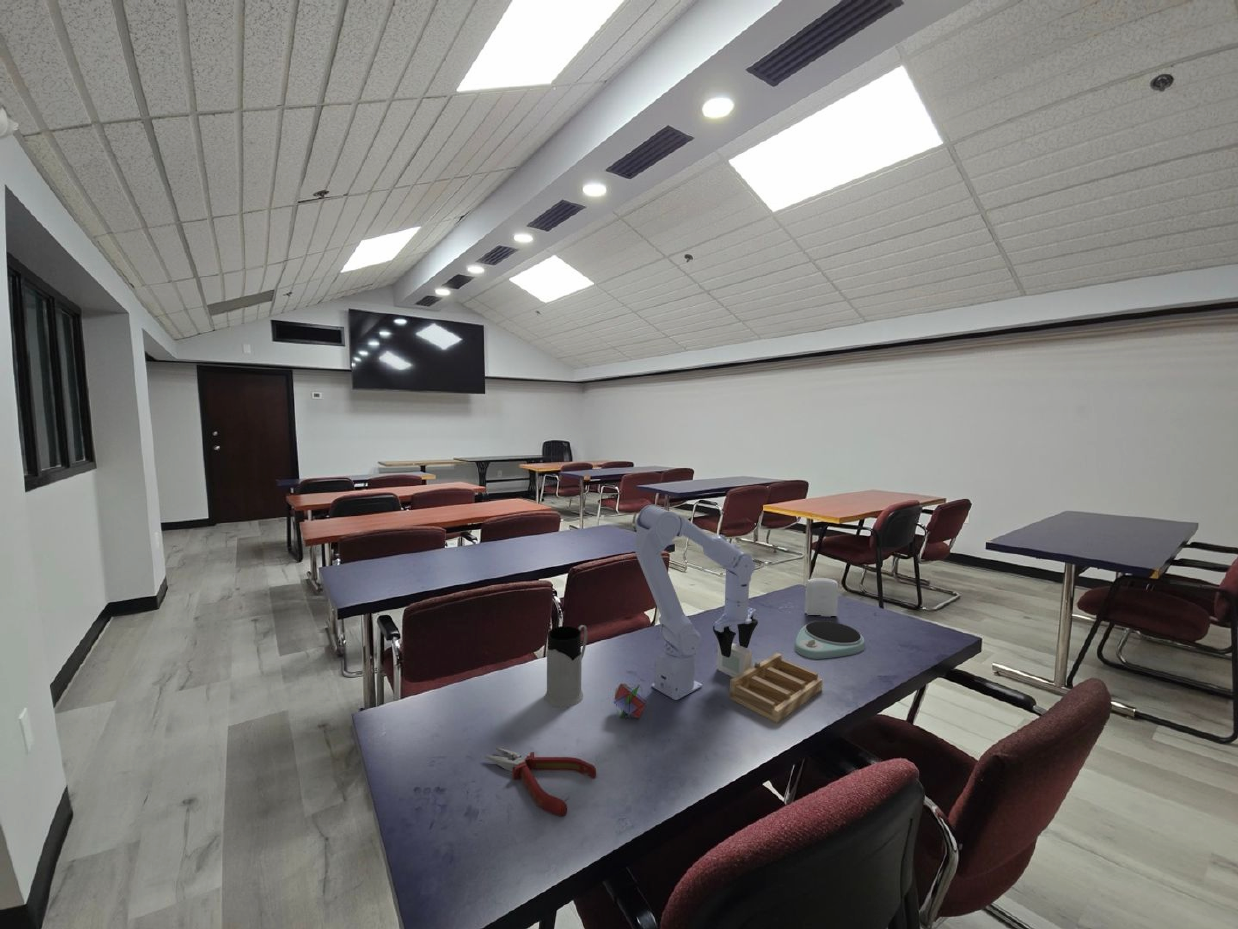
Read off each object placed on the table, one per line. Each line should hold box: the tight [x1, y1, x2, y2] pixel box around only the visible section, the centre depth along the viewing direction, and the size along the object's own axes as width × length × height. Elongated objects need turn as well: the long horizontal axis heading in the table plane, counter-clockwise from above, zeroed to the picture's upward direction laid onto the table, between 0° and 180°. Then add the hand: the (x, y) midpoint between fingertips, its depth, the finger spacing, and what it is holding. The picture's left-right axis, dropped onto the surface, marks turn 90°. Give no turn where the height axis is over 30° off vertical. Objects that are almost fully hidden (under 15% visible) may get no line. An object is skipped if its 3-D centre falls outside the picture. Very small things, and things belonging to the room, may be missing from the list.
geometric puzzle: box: [612, 683, 647, 720], centre depth 105 cm, size 7×7×8 cm
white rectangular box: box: [716, 642, 753, 678], centre depth 123 cm, size 3×8×7 cm, turn 42°
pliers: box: [484, 746, 597, 817], centre depth 87 cm, size 12×20×3 cm, turn 62°
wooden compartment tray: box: [729, 652, 824, 723], centre depth 114 cm, size 20×12×5 cm, turn 132°
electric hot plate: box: [793, 620, 866, 660], centre depth 141 cm, size 18×4×25 cm
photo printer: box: [804, 577, 839, 617], centre depth 162 cm, size 10×4×12 cm, turn 85°
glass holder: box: [544, 624, 588, 709], centre depth 114 cm, size 9×14×15 cm, turn 154°
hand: (734, 651), depth 123 cm, fingers open, 7 cm apart
